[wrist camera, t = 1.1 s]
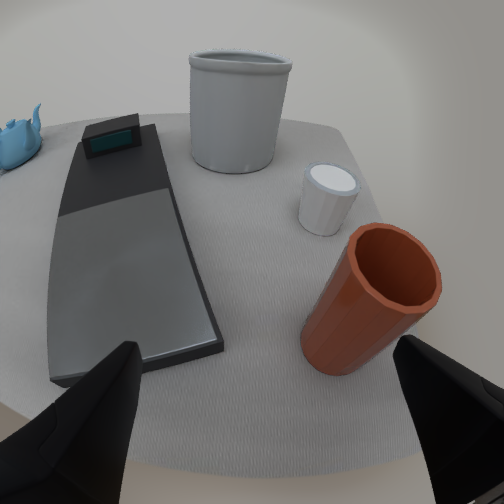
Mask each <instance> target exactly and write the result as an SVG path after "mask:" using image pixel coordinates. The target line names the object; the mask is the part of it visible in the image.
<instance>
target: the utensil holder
mask: <svg viewBox="0 0 504 504" xmlns="http://www.w3.org/2000/svg"><path fill="white" fill-rule="evenodd" d="M189 64H190V65H191V70H190V128H191V144H192V154H193V158H194V159H195V161H196V162H197V163H198V164H200V165H201V166H203V167H205V168H207V169H210V170H213V171H217V172H222V173H248V172H253V171H257V170H259V169H262V168H264V167H266V166H267V165H268V164H269V163H270V162H271V160H272V157H273V153H274V148H275V143H276V138H277V133H278V128H279V123H280V118H281V113H282V107H283V102H284V97H285V92H286V86H287V81H288V75H289V72H290V70H291V69H292V61H291V60H290V59H288V58H286V57H283V56H280V55H276V54H272V53H266V52H260V51H252V50H241V49H212V50H202V51H197V52H193V53H191V54H190V55H189Z"/></svg>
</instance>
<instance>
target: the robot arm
mask: <svg viewBox="0 0 504 504" xmlns="http://www.w3.org/2000/svg"><path fill="white" fill-rule="evenodd" d="M393 359H394V363H395V366H396V370H397V373H398V377H399V381H400V384H401V388H402V391H403V394H404V397H405V400H406V402H407V405H408V408H409V411H410V414H411V417H412V419H413V422H414V425H415V428H416V431H417V435H418V438H419V441H420V444H421V447H422V451H423V454H424V457H425V461H426V464H427V468H428V472H429V475H430V480H431V484H432V488H433V492H434V497H435V501H436V504H468V503H470V502H471V501H473V500H475V502H474V503H473V504H504V389H502V388H500V387H498V386H496V385H495V384H493V383H491V382H490V381H488V380H486V379H484V378H483V377H480V375H478V374H476V373H474V372H473V371H471V370H470V369H468V368H466V367H465V366H463V365H461V364H460V363H458V362H456V361H455V360H453V359H451V358H450V357H448V356H446V355H445V354H443V353H441V352H440V351H438V350H436V349H435V348H433V347H431V346H430V345H428V344H426V343H425V342H423V341H421V340H420V339H418V338H416V337H415V336H413V335H403V336H401V337H400V339H399V341H398V343H397V345H396V347H395V350H394V352H393ZM142 368H143V360H142V356H141V352H140V349H139V345H138V343H137V342H135V341H124V342H123V343H121V344H120V345H119V346H118V347H117V348H115V349H114V350H113V351H112V352H111V353H110V354H108V355H107V356H106V357H105V358H104V359H103V360H101V361H100V362H99V363H98V364H97V365H96V366H94V367H93V368H92V369H91V370H90V371H89V372H88V373H86V374H85V375H84V376H83V377H82V378H81V379H79V380H78V381H77V382H76V383H75V384H74V385H73V386H71V387H70V388H69V389H68V390H67V391H66V392H65V393H63V394H62V395H61V396H60V397H59V398H58V399H57V400H55V403H52V404H51V405H50V406H48V407H47V408H46V409H45V410H44V411H43V412H41V413H40V414H39V415H38V416H37V417H35V418H34V419H33V420H31V421H30V422H29V423H28V424H26V425H25V426H23V427H22V428H20V429H19V430H18V431H16V432H15V433H13V434H12V435H10V436H9V437H7V438H6V439H5V440H3V441H2V442H0V504H119V498H120V492H121V484H122V479H123V473H124V468H125V462H126V457H127V452H128V447H129V442H130V437H131V433H132V428H133V424H134V419H135V415H136V411H137V406H138V398H139V390H140V382H141V375H142Z"/></svg>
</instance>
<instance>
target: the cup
mask: <svg viewBox="0 0 504 504" xmlns="http://www.w3.org/2000/svg"><path fill="white" fill-rule="evenodd" d="M441 292H442V282H441V273H440V271H439V268H438V266H437V264H436V262H435V259H434V258H433V256H432V255H431V254H430V252H429V251H428V250H427V248H426V247H425V246H424V245H423V244H422V243H421V242H420V241H419V240H417V239H416V238H415V237H413V236H412V235H411V234H410V233H408V232H407V231H405V230H402V229H400V228H398V227H395V226H393V225H390V224H383V223H370V224H367V225H363V226H360V227H359V228H358V229H357V230H356V231H355V232H354V233H353V234H352V235H351V236H350V237H349V240H348V242H347V244H346V246H345V248H344V250H343V252H342V254H341V256H340V258H339V260H338V262H337V264H336V266H335V268H334V270H333V272H332V274H331V276H330V277H329V279H328V281H327V283H326V285H325V287H324V289H323V291H322V293H321V294H320V296H319V298H318V300H317V302H316V304H315V305H314V307H313V309H312V311H311V313H310V314H309V316H308V318H307V320H306V322H305V324H304V326H303V329H302V332H301V347H302V350H303V353H304V355H305V357H306V358H307V360H308V361H309V362H310V364H311V365H312V366H313V367H315V368H316V369H317V370H319V371H321V372H323V373H325V374H328V375H334V376H342V375H347V374H350V373H352V372H354V371H355V370H357V369H358V368H360V367H362V366H363V365H365V364H366V363H367V362H369V361H370V360H371V359H373V358H374V357H375V356H377V355H378V354H379V353H381V352H382V351H383V350H385V349H386V348H387V347H388V346H390V345H391V344H392V343H393V342H395V341H396V340H397V339H398V338H399V337H401V336H402V335H403V334H404V333H405V332H407V331H408V330H409V329H410V328H411V327H412V326H413V325H415V324H416V323H417V322H418V321H419V320H420V319H421V318H422V317H423V316H425V315H426V314H427V313H428V312H429V311H430V310H431V309H432V308H433V307H434V306H435V305H436V304H437V302H438V299H439V297H440V294H441Z"/></svg>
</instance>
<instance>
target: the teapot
mask: <svg viewBox="0 0 504 504" xmlns="http://www.w3.org/2000/svg"><path fill="white" fill-rule="evenodd" d="M40 105H41V104H39V105H38V106H37V107H36V108H35V109H34V112H33V124H31V119H30V120H28V121H27V120H25V119H23V120H19V121H17V122H15V119H13V120H11V121H9V122H8V123H7V124H6V126H7V128H6V129H4V130H3V131H2V130H1V128H0V169H1V168H3V169H6V170H9V169H12V168H15V167H17V166H19V165H21V164H22V163H24V162H25V161H27V160H28V159H30V158H31V157H32V156H33V155H34V154H35V153H36V152H37V151H38V149H39V146H40V144H41V136H40V133H39V132H40V128H41V123H40V119H39V114H38V111H39V107H40Z"/></svg>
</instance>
